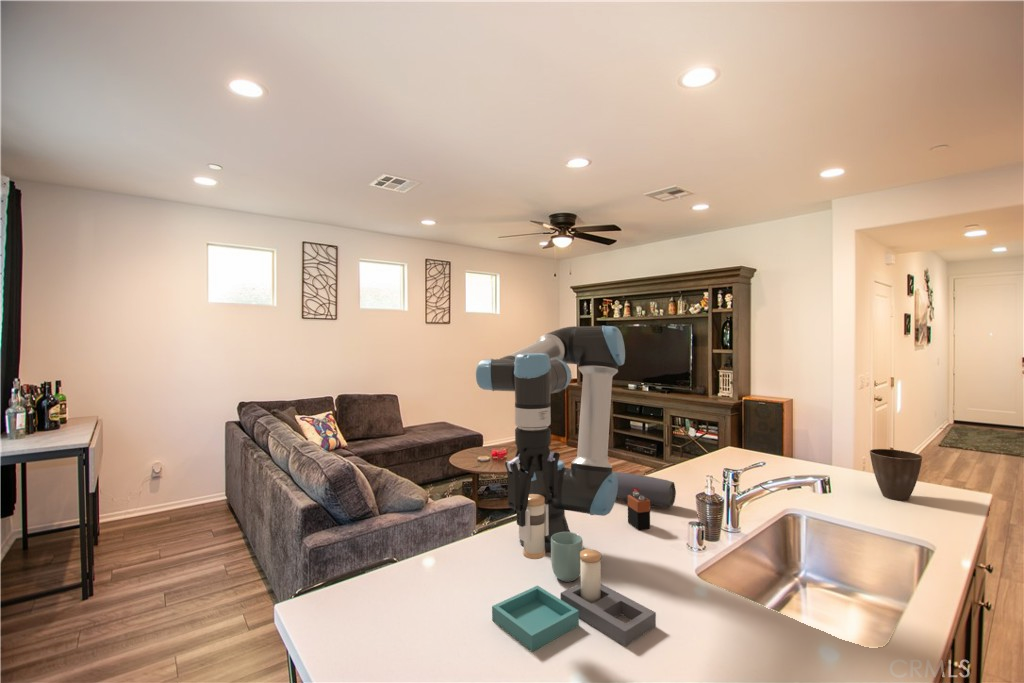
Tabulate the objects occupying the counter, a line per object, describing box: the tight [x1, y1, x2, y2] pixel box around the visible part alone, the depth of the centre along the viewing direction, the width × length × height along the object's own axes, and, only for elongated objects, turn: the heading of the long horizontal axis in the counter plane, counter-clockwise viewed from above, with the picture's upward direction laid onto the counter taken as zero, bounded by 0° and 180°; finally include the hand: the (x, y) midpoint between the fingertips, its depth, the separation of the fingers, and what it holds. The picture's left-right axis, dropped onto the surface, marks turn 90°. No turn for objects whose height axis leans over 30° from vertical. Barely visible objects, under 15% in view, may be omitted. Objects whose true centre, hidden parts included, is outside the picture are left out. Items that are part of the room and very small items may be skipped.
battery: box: [627, 492, 651, 531], centre depth 151 cm, size 4×7×10 cm, turn 16°
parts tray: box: [491, 585, 580, 652], centre depth 101 cm, size 13×13×3 cm
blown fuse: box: [522, 494, 546, 560], centre depth 101 cm, size 5×5×12 cm
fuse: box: [580, 548, 602, 604], centre depth 107 cm, size 5×5×12 cm
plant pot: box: [869, 448, 923, 502], centre depth 173 cm, size 15×15×16 cm
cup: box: [550, 531, 584, 583], centre depth 120 cm, size 8×8×10 cm
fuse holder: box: [560, 582, 657, 648], centre depth 103 cm, size 18×10×3 cm, turn 38°
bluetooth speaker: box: [612, 471, 677, 507], centre depth 171 cm, size 23×9×10 cm, turn 55°
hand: (533, 536), depth 101 cm, fingers closed on blown fuse, 4 cm apart
